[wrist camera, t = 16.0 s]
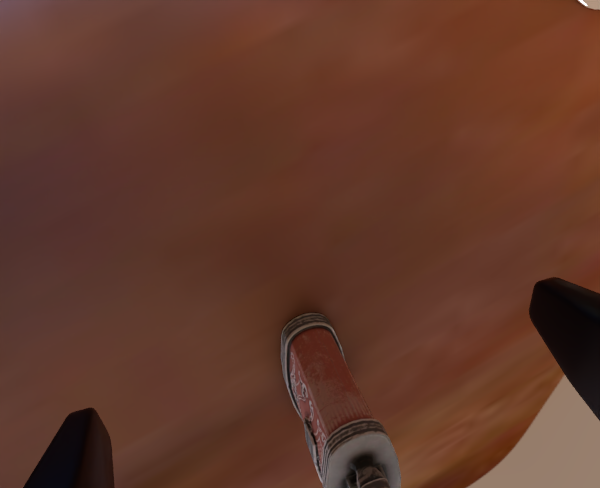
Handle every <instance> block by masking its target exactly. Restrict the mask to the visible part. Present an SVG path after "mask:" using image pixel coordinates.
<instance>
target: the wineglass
mask: <svg viewBox="0 0 600 488" xmlns="http://www.w3.org/2000/svg"><path fill="white" fill-rule="evenodd" d="M577 1H578V2H579V3H580V4H581V5H582V6H583V7H586V8H588V9H591V10H600V0H577Z"/></svg>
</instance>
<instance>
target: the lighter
mask: <svg viewBox="0 0 600 488" xmlns="http://www.w3.org/2000/svg"><path fill="white" fill-rule="evenodd" d="M281 361H282V369H283V376H284V379H285V382H286V385H287V388H288V391H289V393H290V396H291V399H292V402H293V405H294V407H295V409H296V410H297V412H298V414H299V415H300V417H301V419H302V420H303V422H304V427H305V435H306V442H307V444H308V447H309V450H310V453H311V456H312V459H313V461H314V464H315V467H316V470H317V473H318V475H319V478H320V481H321V482H322V483H323V488H400V485H401V475H400V469H399V463H398V458H397V455H396V453H395V451H394V448H393V446H392V444H391V441H390V439H389V437H388V435H387V433H386V431H385V429H384V427H383V425H382V424H381V423H380V422H379V421H378V420H375V419H374V418H373V416H372V414H371V412H370V410H369V408H368V406H367V404H366V402H365V400H364V398H363V396H362V394H361V392H360V390H359V388H358V386H357V384H356V382H355V380H354V378H353V376H352V374H351V372H350V370H349V368H348V366H347V364H346V362H345V358H344V354H343V350H342V348H341V345H340V343H339V341H338V338H337V336H336V334H335V332H334V330H333V328H332V326H331V324H330V322H329V320H328V319H327V317H326V316H324V315H322V314H319V313H308V314H303V315H300V316H298V317H296V318H294V319H293V320H291V321H290V322H289V323H287V325H286V326H285V327H284V329H283V331H282V335H281Z"/></svg>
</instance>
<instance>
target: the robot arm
mask: <svg viewBox="0 0 600 488" xmlns="http://www.w3.org/2000/svg"><path fill="white" fill-rule="evenodd" d="M529 315H530V318H531V321H532V323H533V324H534V326H535V327H536V329H537V331H538V332H539V334H540V335H541V337H542V339H543V340H544V342H545V343H546V345H547V347H548V348H549V350H550V351H551V353H552V355H553V356H554V358H555V359H556V361H557V363H558V364H559V366H560V367H561V369H562V371H563V372H564V374H565V375H566V377H567V378H568V380H569V381H570V382H571V384H572V385H573V387H574V388H575V389H576V391H577V392H578V393H579V395H580V396H581V397H582V398H583V400H584V401H585V402H586V404H587V405H588V406H589V407H590V409H591V410H592V411H593V413H594V414H595V415H596V417H597V418H598V419H599V420H600V294H599V293H596V292H594V291H591V290H589V289H586V288H583V287H581V286H578V285H576V284H573V283H570V282H568V281H565V280H563V279H560V278H556V277H553V278H549V279H545V280H541V281H538V282H537V283H536V284H535V286H534V289H533V294H532V299H531V303H530V308H529ZM23 488H114V474H113V460H112V447H111V440H110V436H109V434H108V432H107V430H106V428H105V426H104V424H103V422H102V421H101V419H100V417H99V415H98V413H97V412H96V410H95V409H94V408H86V409H83V410H79V411H76V412H72V413H71V414H69V415H68V416H67V418H66V419H65V421H64V422H63V424H62V426H61V427H60V429H59V430H58V432H57V434H56V435H55V437H54V438H53V440H52V442H51V443H50V445H49V447H48V448H47V450H46V451H45V453H44V455H43V456H42V458H41V460H40V461H39V463H38V464H37V466H36V468H35V469H34V471H33V472H32V474H31V476H30V477H29V479H28V481H27V482H26V484H25V485H24V487H23Z"/></svg>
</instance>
